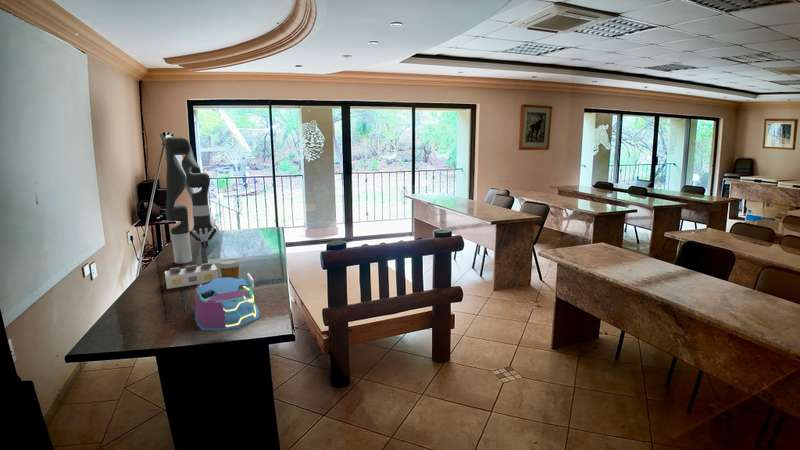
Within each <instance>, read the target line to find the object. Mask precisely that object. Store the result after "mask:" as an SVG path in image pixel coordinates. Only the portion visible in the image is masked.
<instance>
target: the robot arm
mask: <svg viewBox="0 0 800 450" xmlns="http://www.w3.org/2000/svg"><path fill="white" fill-rule="evenodd" d="M164 145H165V146H164V148H165V157H166V158H165V159H166V176H165V177H166V182H165V183H166V185H165V186H166V203H165V217H166V220H167V221H168V222H170V223H175V222H180V223H179V224H177V225H175V226H174V227H172V228H171V230H170V234H171V242H172V243H171V244H172V250H173V252H172V253H173V259H174V263H175V264H179V265H181V264H188V263H190V262H193V255H192V245H191V237H190V235H191V236H192V237H193V238H194V240H195V241H197V242H200V247H201V248H202V249H203V250H205V249H207V250H208V248H209V241H210V240H212V239H213V237H214V236H215V234H216V233H217V231H218V229H217V228H216V227H213V225H212V223H211V216H210V215H211V211H210V207H209V206H210V205H209V198H208V197H209V196H208V195H209V188H210V184H211V178H210V175H209V174H208V173H207V172H201V171H202V170H201V168H200V166H199V163H198V162H197V161H196V158H195V155H194V151H193V149H192V146H191V143H190V141H189V139H188V138H187V137H185V136H170V137H169V136H168V137H166V138H165V142H164ZM175 156H184V157H183V158H182V160H181V167H182V169H181V168H180V166H179V165H178V164H177V162H176V160H175ZM186 186H187V187H188V188H190V189H197V188H200V190H199V191H197V192H196V191H195V192H193V193H192V194H191V204H192V218H193V227H192V229H191V230H190V225H189V214H188V213H189V212H188V206H187V205H185V204H175V203H176V201H177V199H178V198H179V197H180V195H182V193H183V192H184V190H185V189H186ZM210 232H211V233H210ZM209 233H210V234H209ZM196 234H198V235H199V237H198V236H197V235H196Z"/></svg>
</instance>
